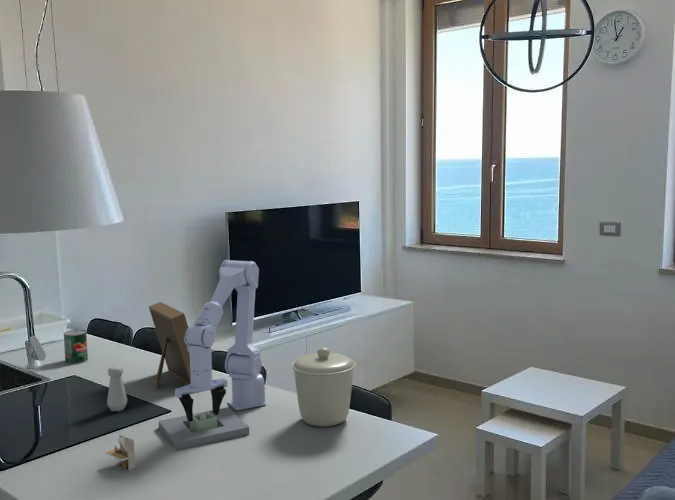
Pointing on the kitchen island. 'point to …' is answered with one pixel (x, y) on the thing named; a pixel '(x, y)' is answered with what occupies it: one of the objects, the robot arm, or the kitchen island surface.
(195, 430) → the hollow block
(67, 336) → the canned tomato
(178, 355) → the photo frame
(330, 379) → the canister
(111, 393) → the salt shaker
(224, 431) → the slotted base plate
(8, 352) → the kitchen island surface
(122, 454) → the architectural model
